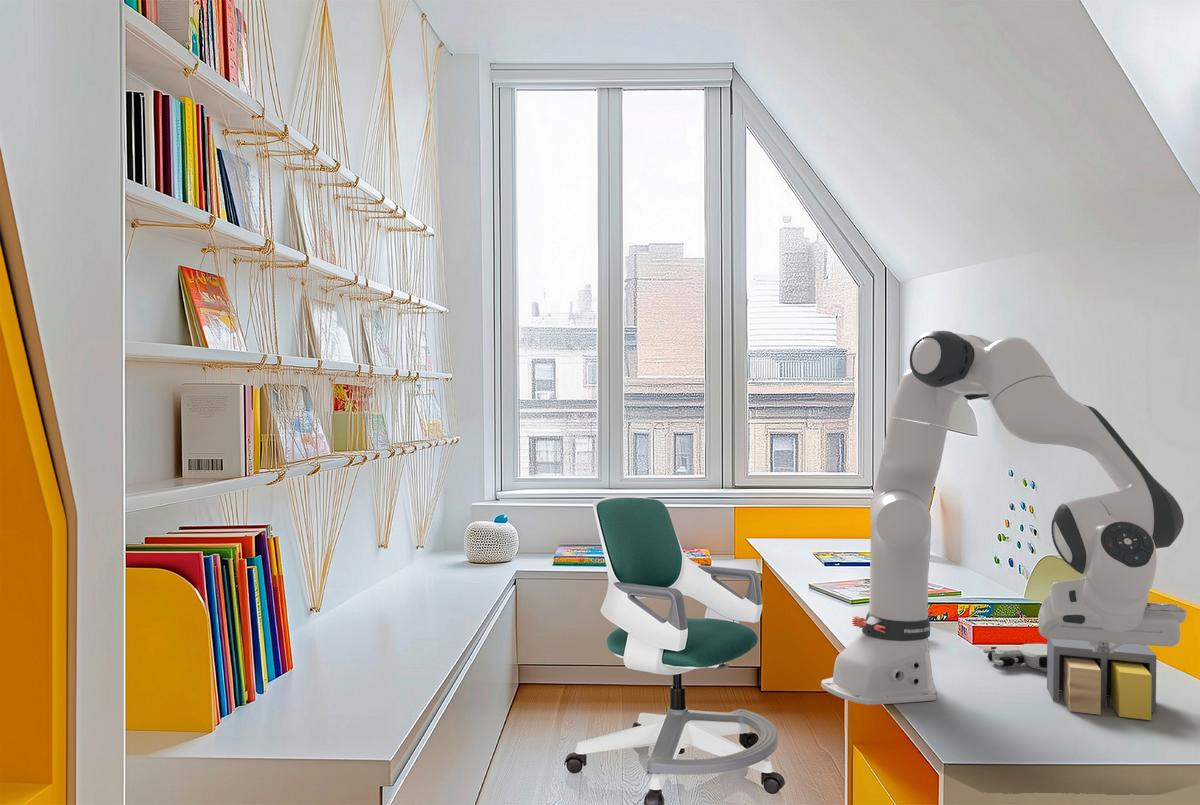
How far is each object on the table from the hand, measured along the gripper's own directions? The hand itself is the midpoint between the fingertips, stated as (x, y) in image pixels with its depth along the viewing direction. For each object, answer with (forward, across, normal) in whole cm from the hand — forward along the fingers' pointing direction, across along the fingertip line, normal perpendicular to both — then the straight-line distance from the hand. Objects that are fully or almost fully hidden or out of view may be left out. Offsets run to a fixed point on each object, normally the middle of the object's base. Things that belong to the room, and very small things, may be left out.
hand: (1101, 649), depth 152 cm
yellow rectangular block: (+23, -7, -1) cm, 24 cm away
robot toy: (+41, +8, -19) cm, 46 cm away
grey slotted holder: (+27, -3, -6) cm, 28 cm away
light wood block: (+23, +1, -2) cm, 23 cm away
